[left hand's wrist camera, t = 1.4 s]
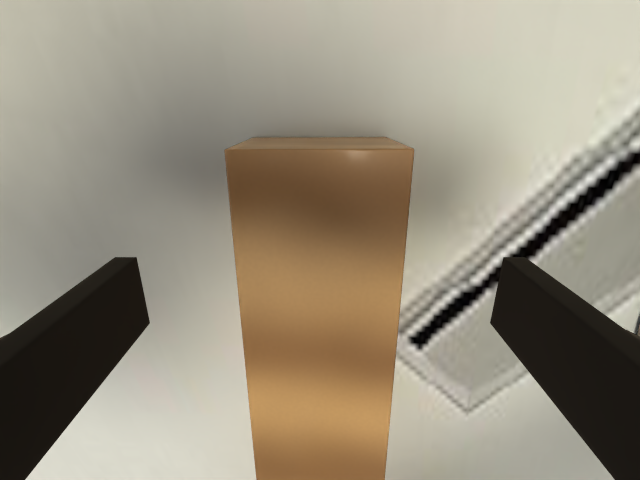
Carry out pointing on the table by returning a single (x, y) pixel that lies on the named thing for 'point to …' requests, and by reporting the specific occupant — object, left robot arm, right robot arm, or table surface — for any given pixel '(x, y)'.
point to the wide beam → (319, 298)
